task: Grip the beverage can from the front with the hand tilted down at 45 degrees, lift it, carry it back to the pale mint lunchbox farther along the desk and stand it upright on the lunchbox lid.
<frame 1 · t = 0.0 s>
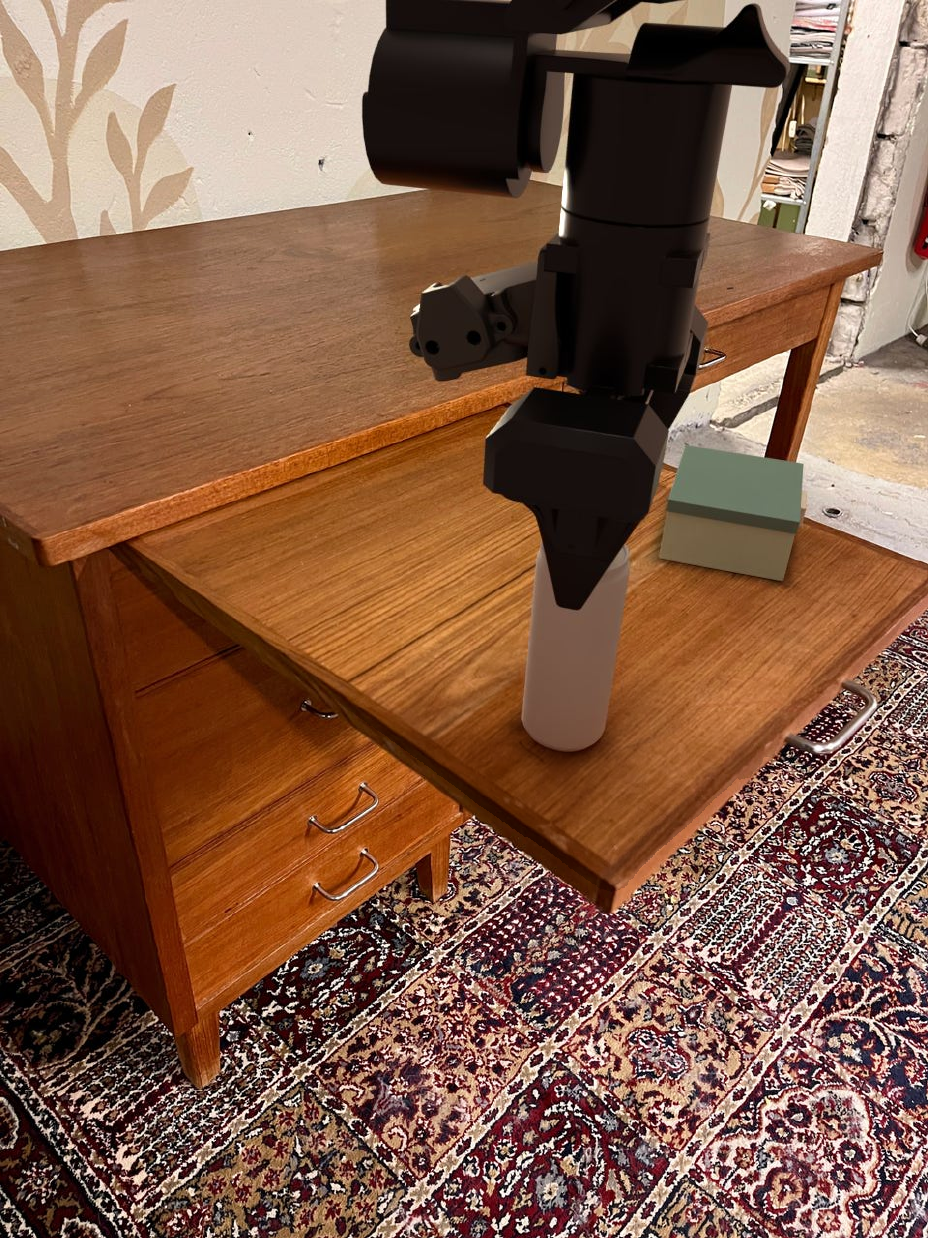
hand: (589, 557, 46), 13 cm above the table, tool pointing down, fingers open, 9 cm apart
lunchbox: (725, 538, 75), on the table
beverage can: (561, 731, 56), on the table
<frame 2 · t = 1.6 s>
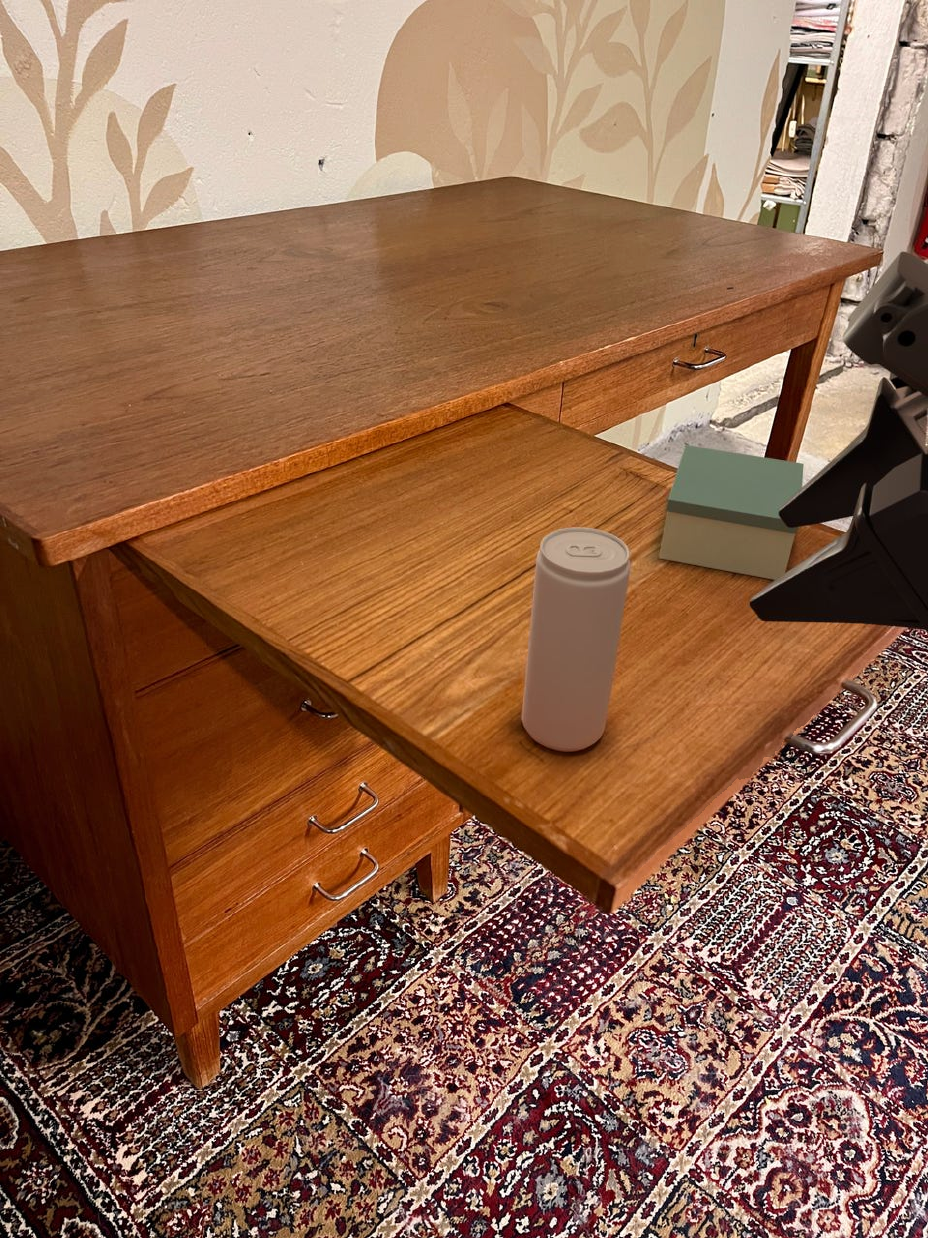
hand: (770, 561, 45), 14 cm above the table, tool tilted 45°, fingers open, 9 cm apart
nothing on the table moved.
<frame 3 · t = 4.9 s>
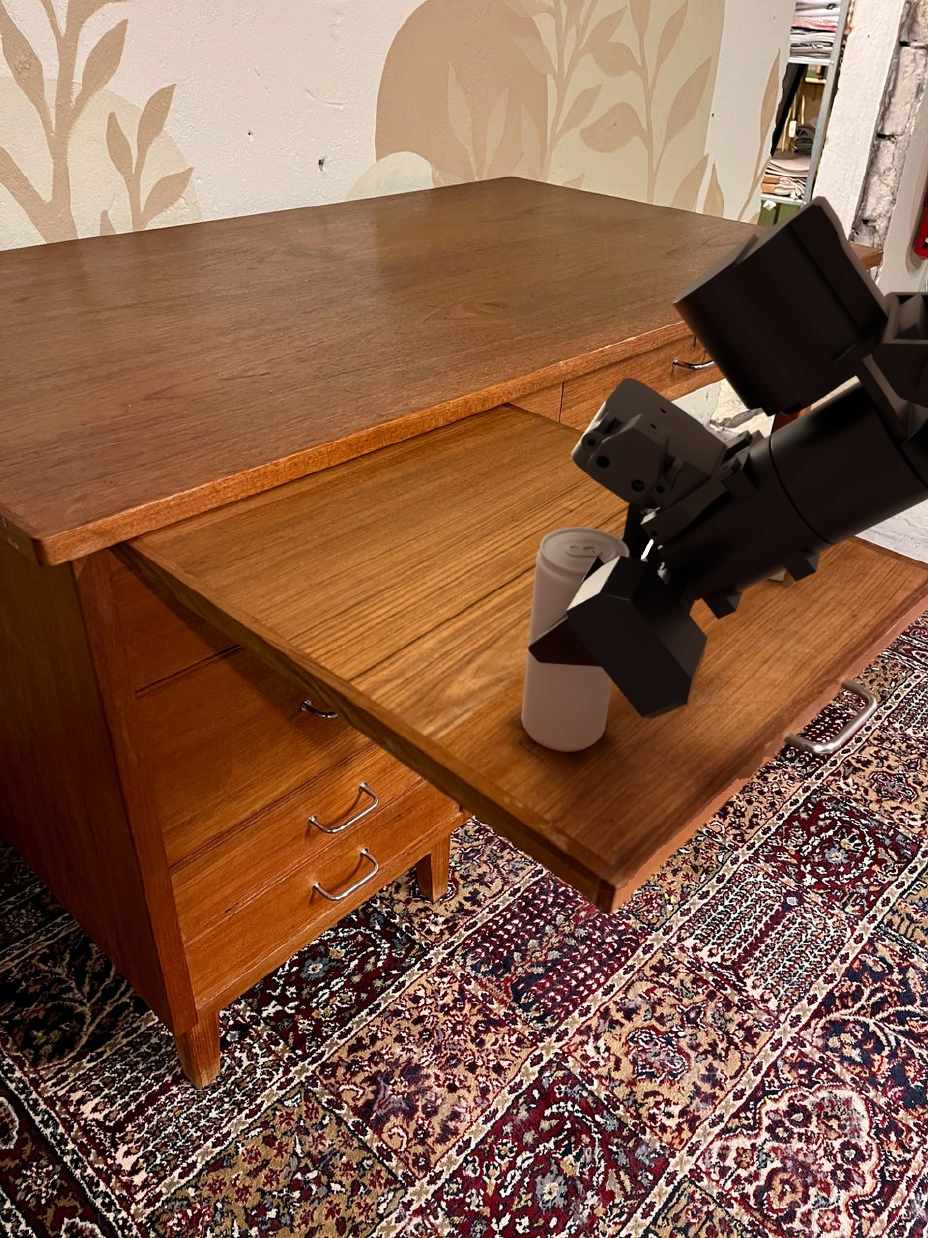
hand: (549, 628, 52), 7 cm above the table, tool tilted 45°, fingers closed on beverage can, 5 cm apart
beverage can: (561, 731, 56), on the table, touching gripper
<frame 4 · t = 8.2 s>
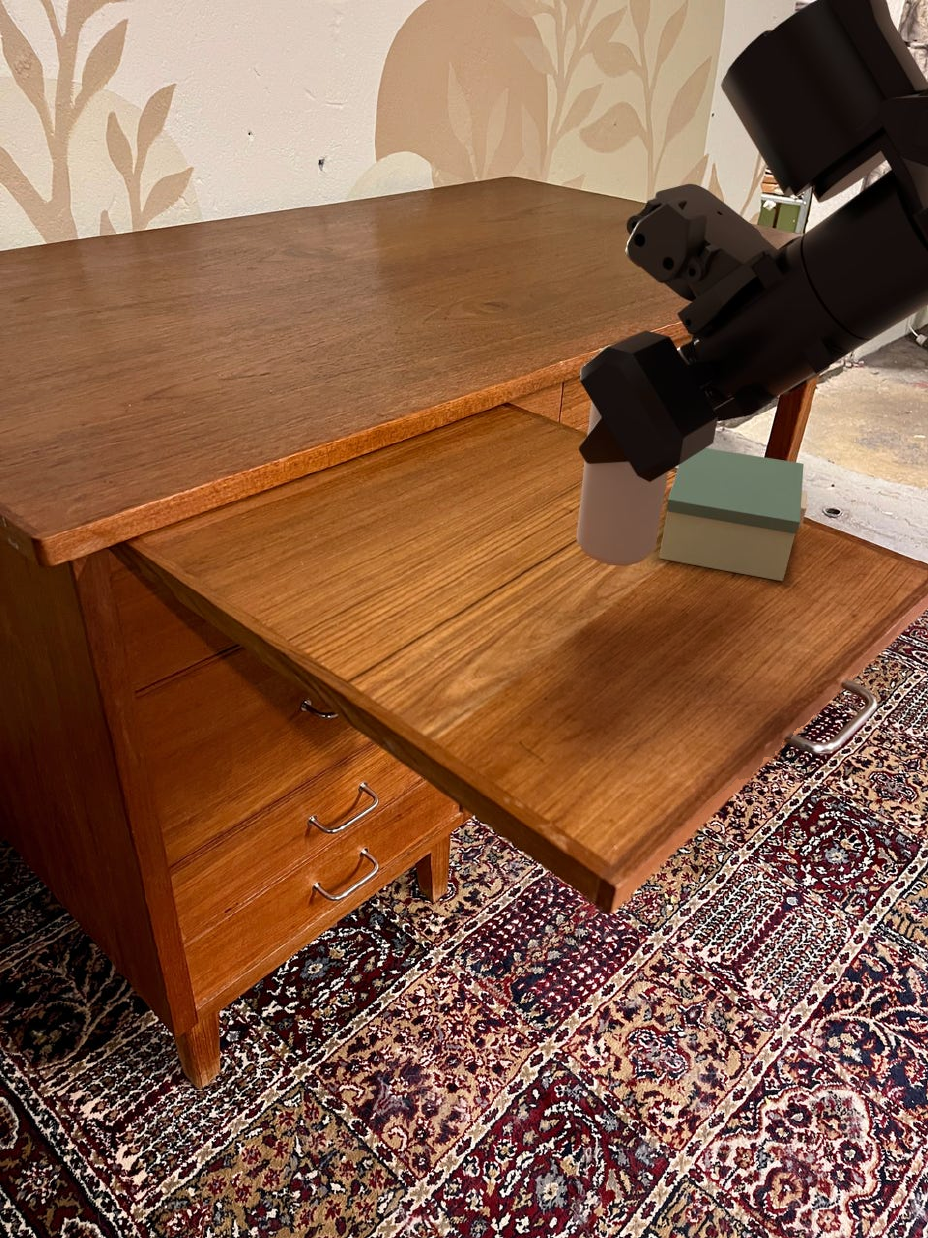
hand: (608, 441, 56), 14 cm above the table, tool tilted 45°, fingers closed on beverage can, 5 cm apart
beverage can: (614, 552, 59), point 7 cm above the table, touching gripper
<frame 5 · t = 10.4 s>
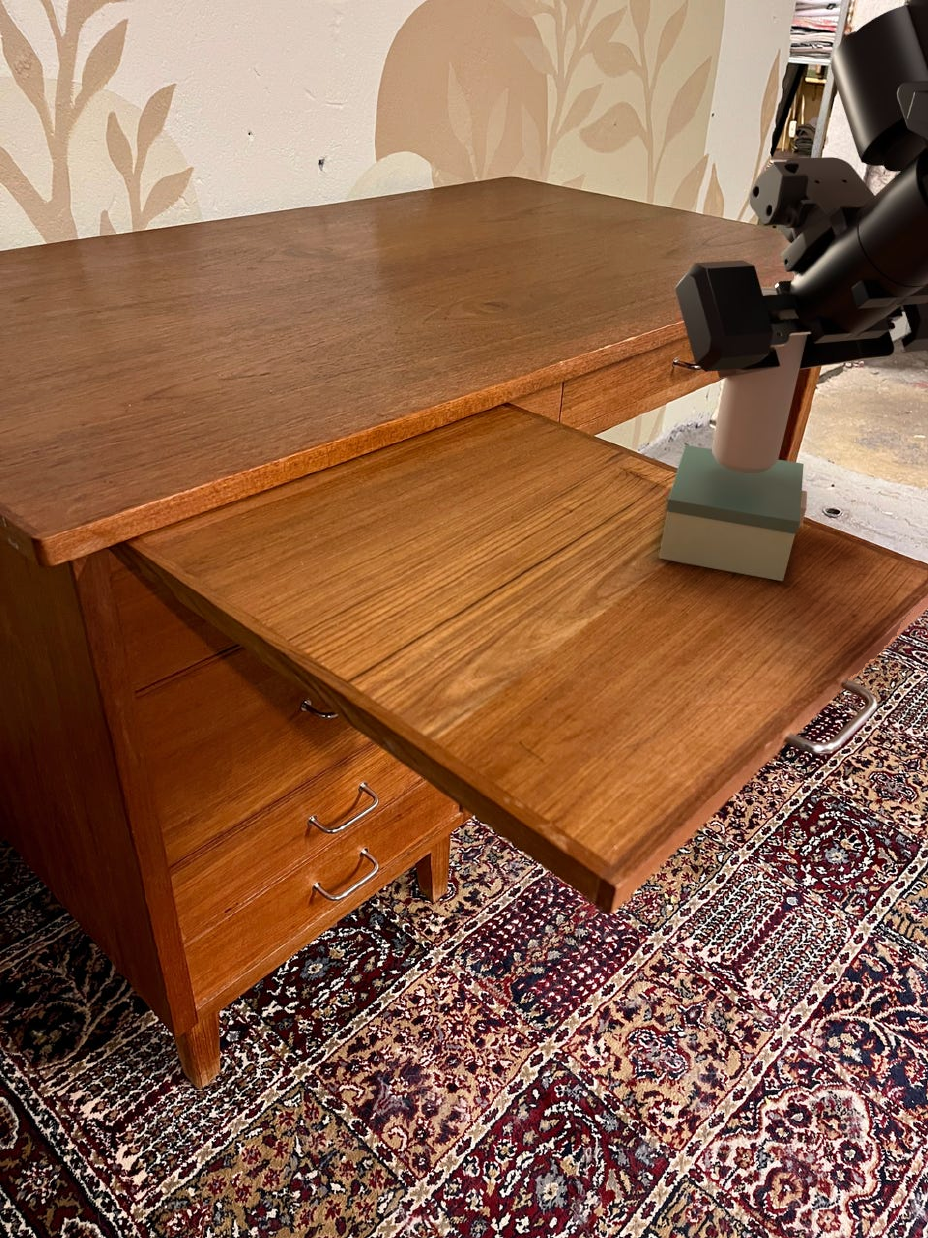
hand: (750, 368, 68), 13 cm above the table, tool tilted 45°, fingers closed on beverage can, 5 cm apart
beverage can: (742, 464, 71), point 6 cm above the table, touching gripper
when the fingers open (12 cm above the table, at t = 11.7 s): beverage can stays where it is, resting on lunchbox.
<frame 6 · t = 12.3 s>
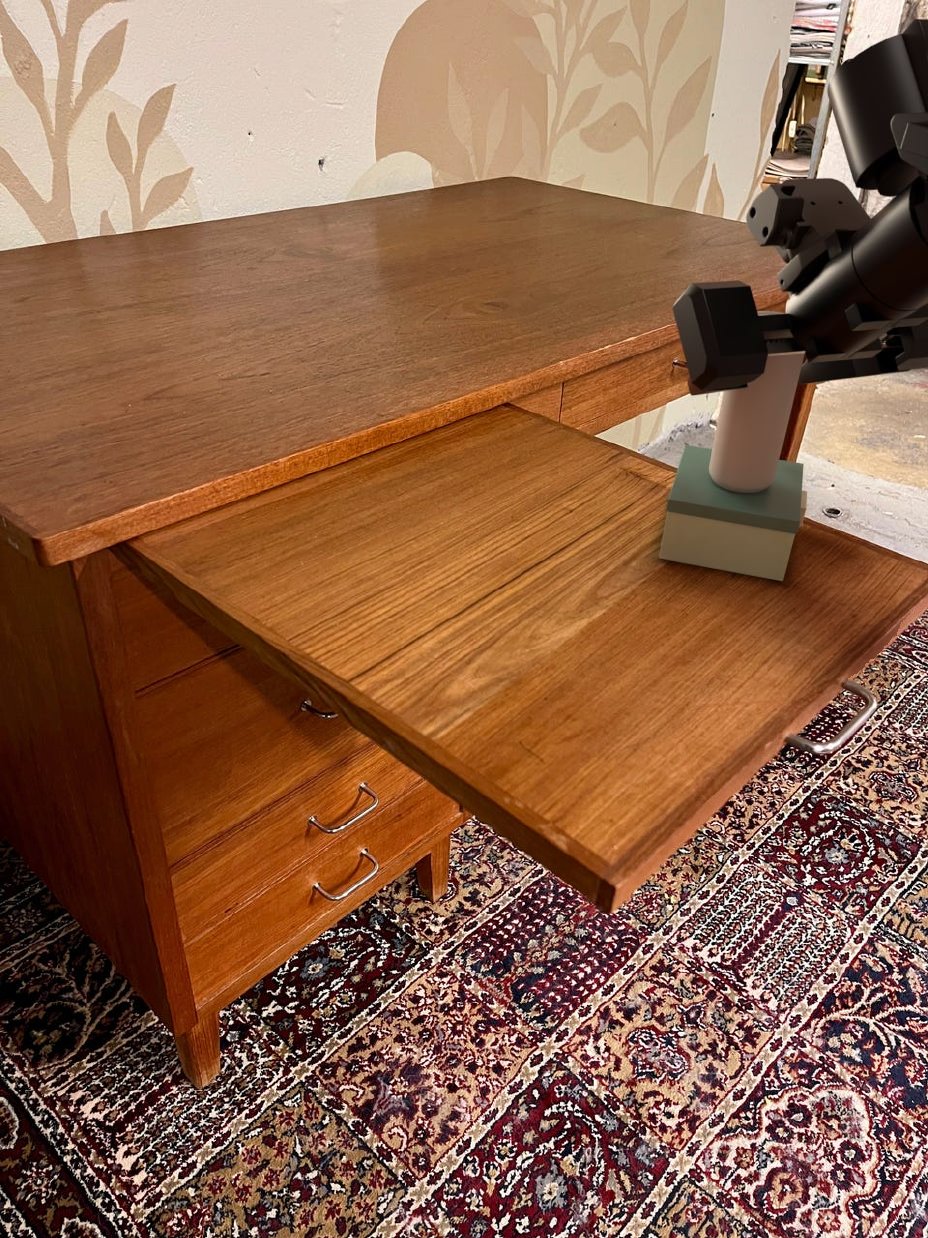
hand: (746, 382, 69), 12 cm above the table, tool tilted 45°, fingers open, 9 cm apart
beverage can: (738, 483, 72), point 5 cm above the table, touching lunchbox
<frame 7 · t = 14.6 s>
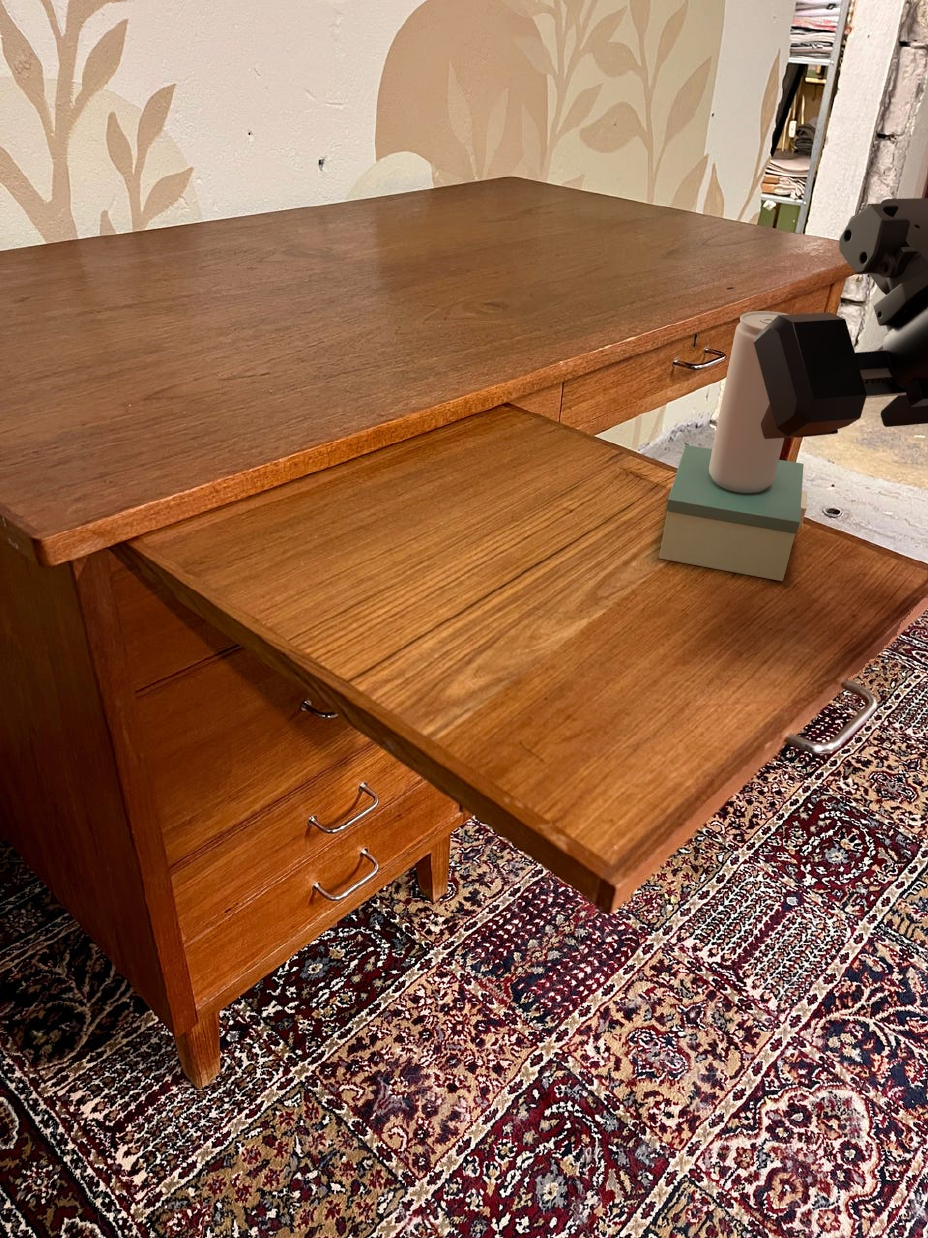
hand: (825, 425, 62), 13 cm above the table, tool tilted 45°, fingers open, 9 cm apart
nothing on the table moved.
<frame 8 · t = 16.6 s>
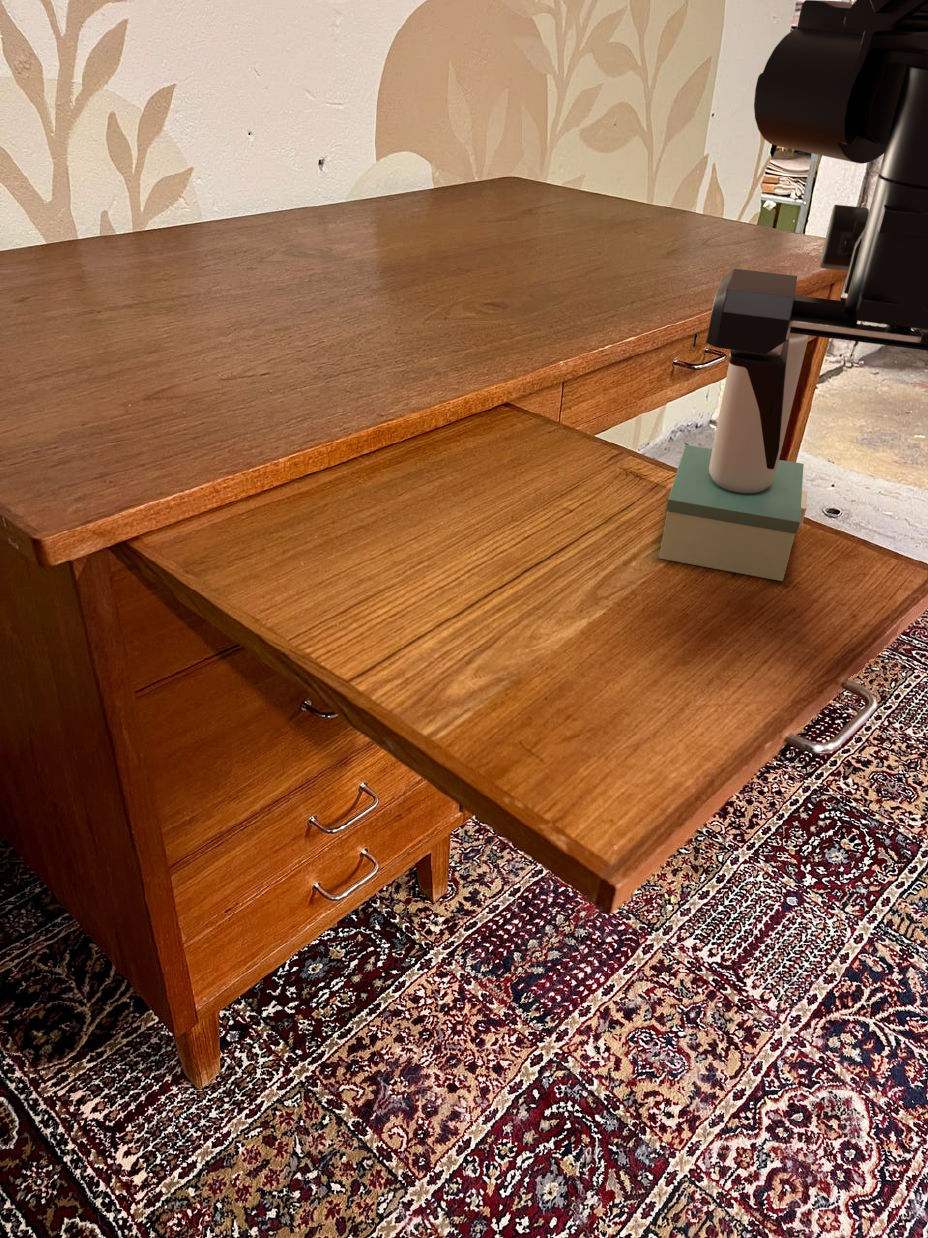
hand: (854, 479, 54), 13 cm above the table, tool pointing down, fingers open, 9 cm apart
nothing on the table moved.
at the end: beverage can inside the target area on the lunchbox (0.2 cm from its centre), point 4.8 cm above the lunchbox's base; beverage can tilted 0°; the gripper is holding nothing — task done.
